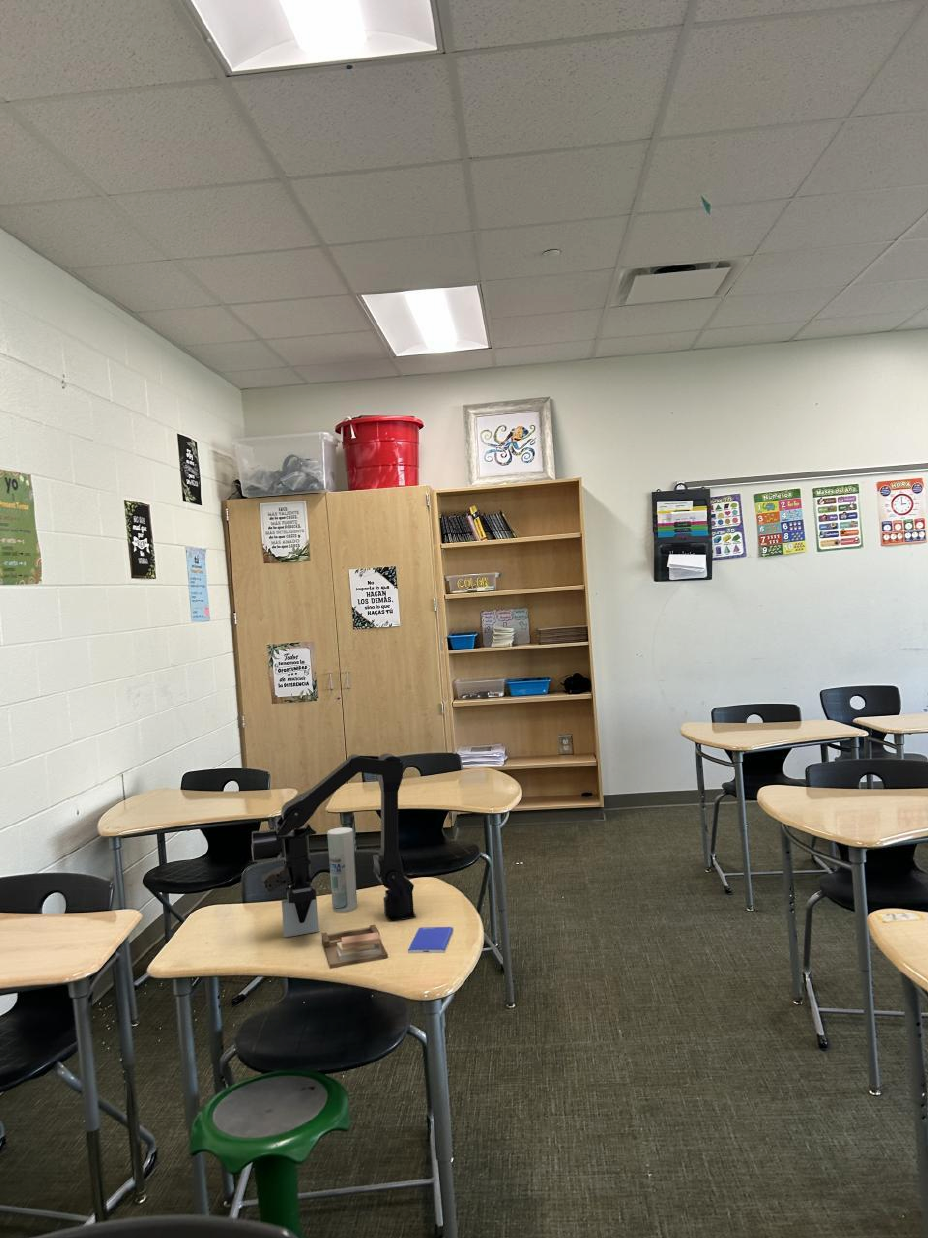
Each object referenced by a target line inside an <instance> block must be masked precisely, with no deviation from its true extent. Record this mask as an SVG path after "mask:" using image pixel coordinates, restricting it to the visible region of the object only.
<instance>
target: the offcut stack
mask: <svg viewBox="0 0 928 1238" xmlns="http://www.w3.org/2000/svg"><path fill="white" fill-rule="evenodd" d="M379 936H380V932H379V933H378V932H377V933H370V934H363V935H356V936H348V937H342V942H339V943H337V955H338V958H339V961H346V960H351V959H357V958H362V957H368V956H374V955H379V954H382V953H381V947H380V945H379V943H380V940H381V938H380V937H381V936H380V937H379Z"/></svg>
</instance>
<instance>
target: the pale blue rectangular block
mask: <svg viewBox="0 0 928 1238" xmlns="http://www.w3.org/2000/svg"><path fill="white" fill-rule="evenodd" d="M281 909H282V910H281V914H282V927H283V937H284V938H291V937H295V936H302V935H306V934H312V933H318V932H320V929H319V927H320V926H319V914H318V912H319V911H318V899H317V897H316V899H315V900H312V902H311V904H310V907H309V910H308V913H307V916H306V919H305V922H304V923H300V922H299V918H298V915H297V911H296V907H295V904H294V903H289V902H288V898H286V899H282V900H281Z"/></svg>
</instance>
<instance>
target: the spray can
mask: <svg viewBox="0 0 928 1238" xmlns="http://www.w3.org/2000/svg"><path fill="white" fill-rule="evenodd" d="M353 831H354V829H353V828H351V827H347V826H346V827H335V828H331V829H329V830H327V833H326V834H327V846H328V859H329V862H328V863H329V873H330V888H331V904H332V911H333V912H334V913H341V914H342V913H349V912H352V911H355V910H357V908H358V901H357V900H358V897H357V882H356V881H357V879H356V863H355V862H356V860H355V847H354V846H355V845H354V832H353Z"/></svg>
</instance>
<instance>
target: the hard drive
mask: <svg viewBox="0 0 928 1238" xmlns="http://www.w3.org/2000/svg"><path fill="white" fill-rule="evenodd" d="M453 934H454V927H453V926H428V927H427V926H426V927H419V928H418V929H417V931H416V933H415V935H414V937H413V939H412V940H411V943H410V945H409V947H408V948H407V954H445V953H446V951H447V948H448V945H449V944H450V941H451V938H452V936H453Z"/></svg>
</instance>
